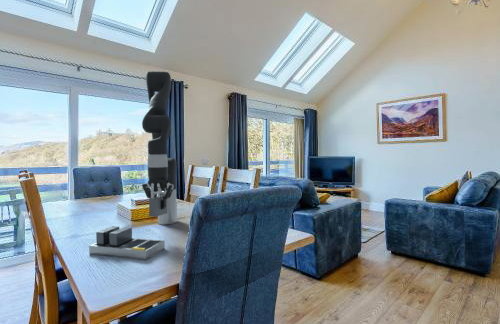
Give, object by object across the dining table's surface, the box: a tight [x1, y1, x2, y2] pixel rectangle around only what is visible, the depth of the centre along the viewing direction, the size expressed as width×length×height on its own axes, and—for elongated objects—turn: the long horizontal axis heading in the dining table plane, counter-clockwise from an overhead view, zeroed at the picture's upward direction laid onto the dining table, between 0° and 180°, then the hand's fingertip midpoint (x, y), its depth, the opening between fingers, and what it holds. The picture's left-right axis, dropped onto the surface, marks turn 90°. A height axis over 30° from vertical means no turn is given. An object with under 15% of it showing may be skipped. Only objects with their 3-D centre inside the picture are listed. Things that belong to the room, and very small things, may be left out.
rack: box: [88, 225, 166, 261], centre depth 99 cm, size 23×11×8 cm, turn 75°
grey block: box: [148, 195, 167, 218], centre depth 109 cm, size 8×3×7 cm, turn 166°
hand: (158, 208), depth 110 cm, fingers closed on grey block, 3 cm apart
